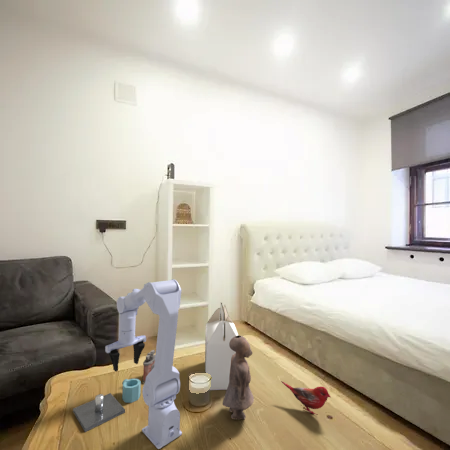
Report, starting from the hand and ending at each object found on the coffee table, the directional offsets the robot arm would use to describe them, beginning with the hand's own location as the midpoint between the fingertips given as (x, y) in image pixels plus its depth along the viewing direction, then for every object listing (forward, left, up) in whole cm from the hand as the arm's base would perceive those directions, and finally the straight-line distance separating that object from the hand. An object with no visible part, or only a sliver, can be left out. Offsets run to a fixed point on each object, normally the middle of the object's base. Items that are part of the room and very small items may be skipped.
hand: (126, 366), depth 94 cm
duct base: (-4, +10, -10) cm, 15 cm away
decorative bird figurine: (-50, -40, -10) cm, 64 cm away
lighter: (+3, -12, -10) cm, 16 cm away
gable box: (-15, -35, -10) cm, 39 cm away
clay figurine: (-36, -22, -10) cm, 43 cm away
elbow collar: (-3, -1, -10) cm, 10 cm away
